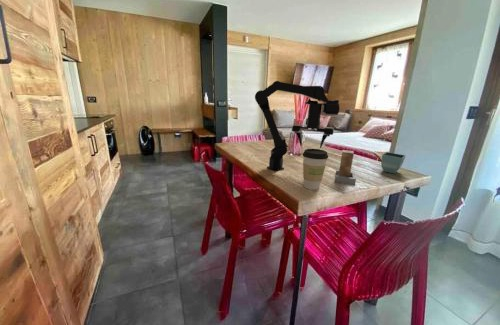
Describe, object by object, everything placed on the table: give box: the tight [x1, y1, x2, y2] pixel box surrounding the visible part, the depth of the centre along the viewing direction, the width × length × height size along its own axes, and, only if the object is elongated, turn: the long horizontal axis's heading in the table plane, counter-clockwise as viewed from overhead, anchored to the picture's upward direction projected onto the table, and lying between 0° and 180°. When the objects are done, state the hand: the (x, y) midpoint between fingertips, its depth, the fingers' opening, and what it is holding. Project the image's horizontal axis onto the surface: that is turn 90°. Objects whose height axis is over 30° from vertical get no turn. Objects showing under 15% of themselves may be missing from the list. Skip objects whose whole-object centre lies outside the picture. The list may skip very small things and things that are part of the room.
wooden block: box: [338, 149, 355, 177], centre depth 97 cm, size 4×4×13 cm
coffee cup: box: [302, 148, 329, 191], centre depth 87 cm, size 10×10×15 cm
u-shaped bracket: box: [334, 169, 357, 185], centre depth 98 cm, size 8×9×2 cm
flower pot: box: [381, 151, 406, 174], centre depth 110 cm, size 9×9×9 cm
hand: (310, 147), depth 106 cm, fingers open, 9 cm apart
